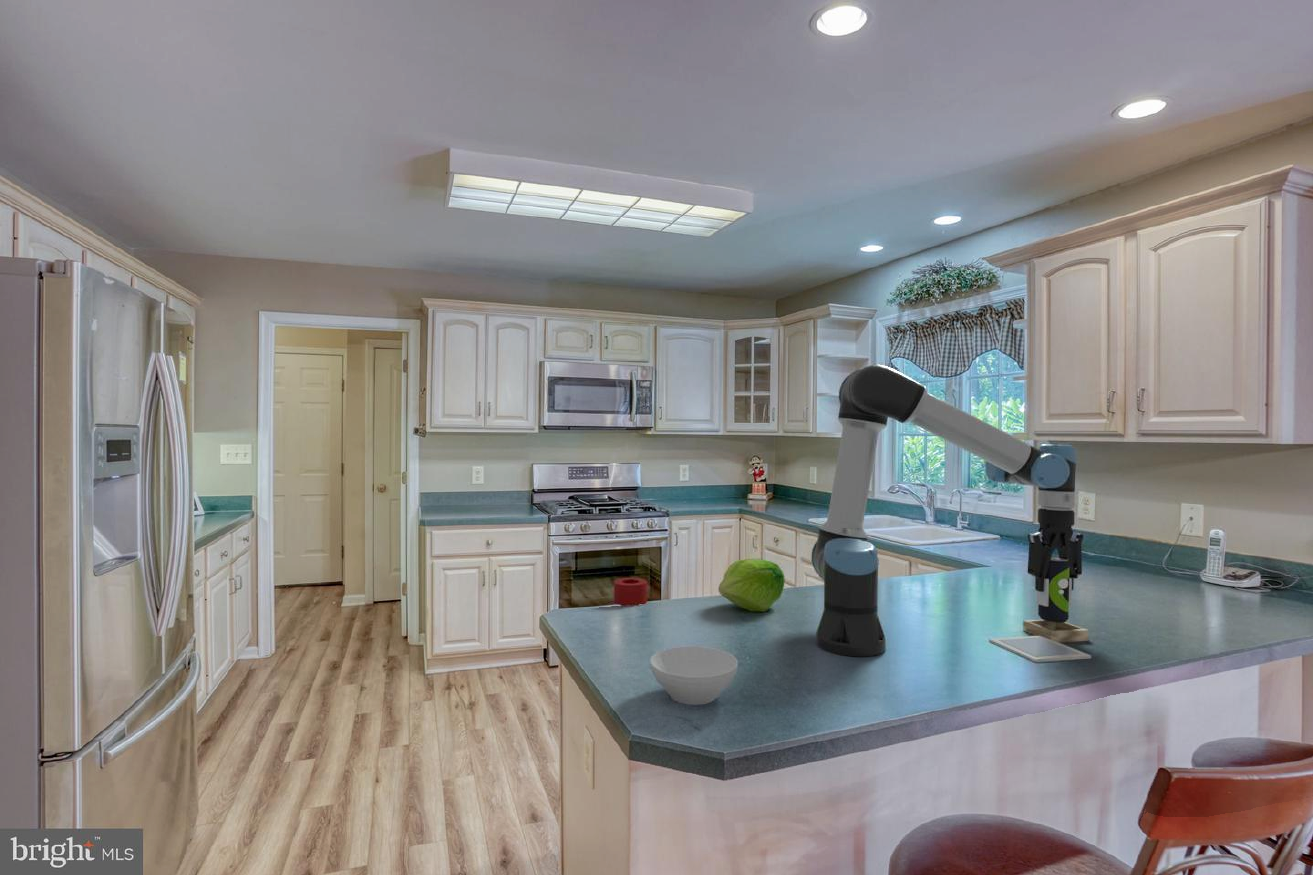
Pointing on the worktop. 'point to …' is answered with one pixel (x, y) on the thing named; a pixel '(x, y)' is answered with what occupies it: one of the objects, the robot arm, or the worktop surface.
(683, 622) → the worktop surface
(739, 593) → the lettuce
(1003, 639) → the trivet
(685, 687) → the bowl
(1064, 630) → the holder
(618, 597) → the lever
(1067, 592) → the beverage can
